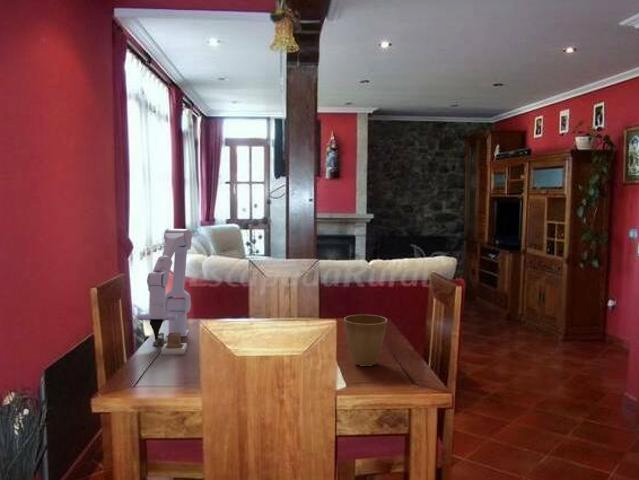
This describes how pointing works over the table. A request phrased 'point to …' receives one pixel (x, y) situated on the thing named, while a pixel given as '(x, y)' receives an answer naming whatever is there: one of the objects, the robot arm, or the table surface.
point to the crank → (160, 338)
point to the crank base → (160, 344)
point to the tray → (173, 350)
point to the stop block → (174, 340)
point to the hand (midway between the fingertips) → (156, 339)
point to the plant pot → (365, 337)
